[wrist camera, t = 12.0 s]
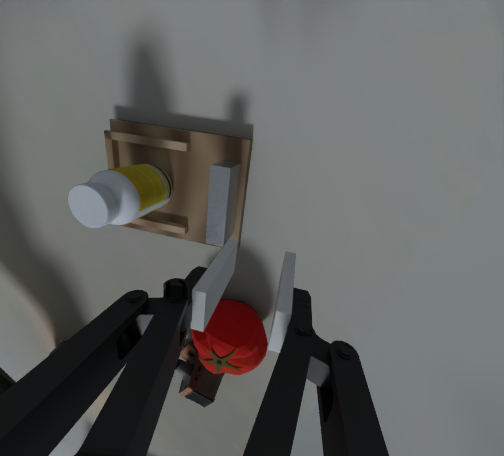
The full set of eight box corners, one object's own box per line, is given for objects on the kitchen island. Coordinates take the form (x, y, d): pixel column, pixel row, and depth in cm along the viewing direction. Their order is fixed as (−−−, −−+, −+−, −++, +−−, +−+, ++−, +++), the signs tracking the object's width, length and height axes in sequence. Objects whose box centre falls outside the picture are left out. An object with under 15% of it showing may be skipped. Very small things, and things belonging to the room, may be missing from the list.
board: (126, 222, 40) (114, 227, 37) (117, 119, 34) (102, 118, 31) (239, 246, 37) (234, 254, 35) (252, 139, 31) (248, 140, 28)
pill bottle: (156, 154, 33) (86, 162, 22) (182, 194, 34) (127, 220, 24) (126, 176, 35) (48, 193, 24) (151, 213, 36) (88, 244, 26)
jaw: (218, 229, 35) (205, 243, 30) (223, 160, 31) (210, 164, 27) (233, 232, 35) (223, 246, 30) (241, 163, 31) (230, 168, 26)
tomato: (216, 276, 40) (190, 319, 31) (282, 312, 40) (275, 366, 31) (195, 318, 45) (166, 367, 36) (253, 350, 45) (240, 407, 35)
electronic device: (191, 337, 47) (172, 372, 40) (228, 366, 48) (215, 405, 41) (180, 347, 49) (160, 382, 42) (215, 375, 50) (201, 413, 43)
